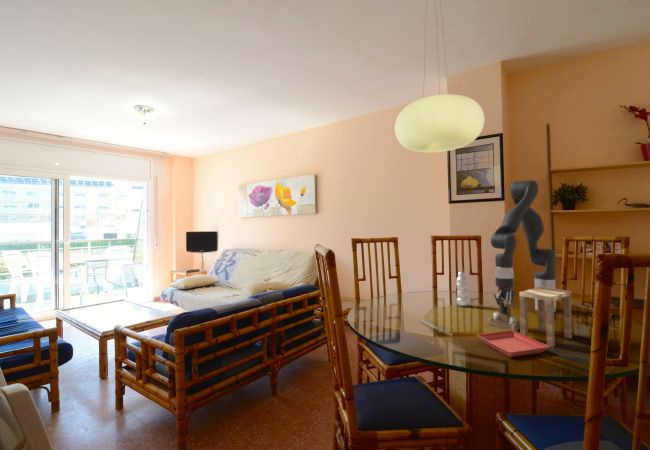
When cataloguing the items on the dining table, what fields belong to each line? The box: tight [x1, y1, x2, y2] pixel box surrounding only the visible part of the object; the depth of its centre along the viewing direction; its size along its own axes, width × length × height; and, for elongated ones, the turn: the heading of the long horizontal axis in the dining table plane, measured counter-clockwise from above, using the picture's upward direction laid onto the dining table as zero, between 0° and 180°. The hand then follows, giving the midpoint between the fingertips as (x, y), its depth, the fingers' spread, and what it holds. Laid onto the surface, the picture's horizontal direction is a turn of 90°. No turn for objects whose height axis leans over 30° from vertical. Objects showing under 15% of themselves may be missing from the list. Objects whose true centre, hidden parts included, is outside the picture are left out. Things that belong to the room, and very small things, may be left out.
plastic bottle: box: [455, 270, 470, 307], centre depth 187 cm, size 6×7×20 cm
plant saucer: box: [476, 330, 550, 358], centre depth 127 cm, size 18×18×3 cm
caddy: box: [487, 303, 520, 332], centre depth 150 cm, size 8×12×11 cm, turn 31°
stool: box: [518, 287, 573, 348], centre depth 135 cm, size 17×12×20 cm
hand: (505, 313), depth 149 cm, fingers closed
